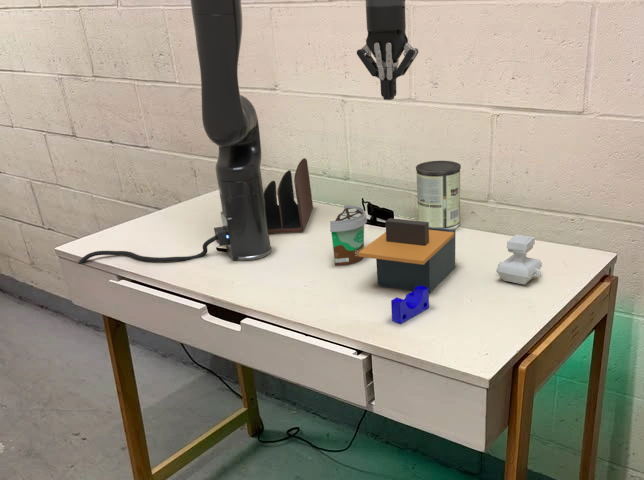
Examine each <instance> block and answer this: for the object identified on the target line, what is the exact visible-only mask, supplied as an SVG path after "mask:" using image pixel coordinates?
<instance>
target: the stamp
mask: <svg viewBox="0 0 644 480" xmlns="http://www.w3.org/2000/svg"><path fill="white" fill-rule="evenodd" d="M535 237H536V236H535ZM535 237H534V236H528V235H521V234H514V235H513V236H512V237H511V238H510V239H508V240H507V241H506V242H507V243H506V249H507V251H508V253H512V255H510V256H509V257H508V258H506V259H505V260H504V261H501V262H499V263H498V264H497V267H496V273H497V274H498V275H499V276H500V277H501V279H502V281H504V282H510V283H514V284H519V285H524V286H525V285H526V284H527V283H529V282H530V281H531V280H532V279H533V278H539V277H541V276H542V271H541V268H542V267H543V262H542V261H541V259H539V258H533V257H527V254H528V253H529V252H530V251H531V250H532V249H533V248H534V246H535V244H536V239H535Z"/></svg>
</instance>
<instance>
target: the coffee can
mask: <svg viewBox="0 0 644 480" xmlns="http://www.w3.org/2000/svg"><path fill="white" fill-rule="evenodd" d="M461 167H462V165H461V164H460V163H459V162H456V161H453V160H452V161H451V160H431V161H424V162H421V163H419V164H417V165H416V166H415V172H416V201H417V203H416V204H417V221H423V222H429V227H432V228H442V229H451V230H456V229H458V228H459V227H460V226H461Z"/></svg>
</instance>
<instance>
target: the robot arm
mask: <svg viewBox="0 0 644 480" xmlns="http://www.w3.org/2000/svg"><path fill="white" fill-rule="evenodd" d="M190 7H191V8H190V9H191V16H192V22H193V28H194V35H195V44H196V51H197V57H198V64H199V65H198V66H199V71H200V83H201V84H200V86H201V87H200V89H201V119H202V126H203V129H204V132H205V134H206V136H207V137H208V139H209V140H210V141H211V142H212V143H213V144H214V145H215V146H218V156H217V160H216V163H215V174H216V175H215V176H216V179H217V185H218V193H219V198H220V199H219V200H220V204H221V211H220V217H221V218H220V219H221V224H222V226H217V227H213V230H214V235H213V236H212V237H210V238H208V239H207V240H205V241H204V243H203V244H202V251H201V252H200V253H197V254H195V255H188V256H167V257H165V256H164V257H163V256H162V257H155V256H144V255H140V254H137V253H135V252H131V251H126V250H96V251H92V252H90V253H87V254H86V255H84V256H83V257H81V259H80V260H79V261H78V263H77V264H78V265H82V264H85V263H86V261H88V260H90V258H93V257H97V256H127V257H131V258H133V259H135V260H139V261H142V262H143V261H144V262H154V263H170V262H186V261H191V260H194V259H200V258H203V257H205V256H206V255H207V253H208V247H209V245H210V244H212V243H214V242H216V243H217V244H218V245H219V247H225V249H226V253H227V255H228V257H230V259H231V260H232V261H233V262H235V261H252V260H259V259H262V258H264V257H267V256H268V255H270V254H271V253H272V246H271V240H270V238H271V237H270V233H269V231H268V223H267V216H266V208H265V200H264V186H263V177H262V171H261V170H262V169H261V164H262V144H261V133H260V125H259V124H260V123H259V120H258V119H259V117H258V114H257V111H256V109H255V106H254V105H253V103H252V102H251V101H250V100H249V99H248V98H247V97H246V96H244V95H241V93H240V86H239V77H238V69H239V60H240V59H239V58H240V50H241V45H242V37H243V9H242V7H243V6H242V0H190ZM365 15H366V17H365V18H366V31H367V37H366V39H365V45H364V46H363V47H361V48H360V49H357V50H356V56H357V57H358V58H359V59H360V61H361V63H362V64H363V65H364V67H365V68H366V70H367V72H369V74H370V75H371V77H375V78H378V79H379V81H380V82H379V83H380V95H381V97H383V100H384V101H392V100H394V99H395V97H396V96H397V79H398V78H399V77H401V76H405V74H406V73H407V71H408V70H409V68H410V67H411V65H412V64H413V62H414V60H415V59H416V58H417V56H418V54H419V49H418V48H416V47H415V48H414V47H413V46H412V45H410V43H409V38H408V36H407V34H406V27H407V26H406V25H407V24H406V23H407V22H406V0H365ZM402 55H403V56H404V57H403V58H402V60H401V62H400V57H401V56H402ZM373 57H374V58H375V60H374V58H373ZM399 62H400V63H399Z"/></svg>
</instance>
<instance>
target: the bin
mask: <svg viewBox="0 0 644 480" xmlns="http://www.w3.org/2000/svg"><path fill="white" fill-rule="evenodd" d="M429 230H437V231H447V232H454V237H453V238H452V239H451V240H450V241H448V242H447V243H446V244H445V245H444V246H443V247H442V248H441V249H440V250H439V251H438V252H437V253H436V254H434V255H433V256H432V257H431V258H430V259H429V260H428V261H427V262H426V263H425V264H424V265H422V264H414V263H406V262H398V261H390V260H382V259H375V260H376V279H377V281H376V283H377V286H378V287H384V288H391V289H398V290H405V291H411V292H412V291H414V290H415V287H417V286H419V285H421V286H424V287H428V288H429V294H431V293H432V292H433V290H435V288H437V287H438V286H439V285H440V284H441V282H443V280H445V278H446V277H448V275H449V274H450V273H451V272H453V270H454V269H455V268H456V229H453V230H451V229H442V228H432V227H429Z"/></svg>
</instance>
